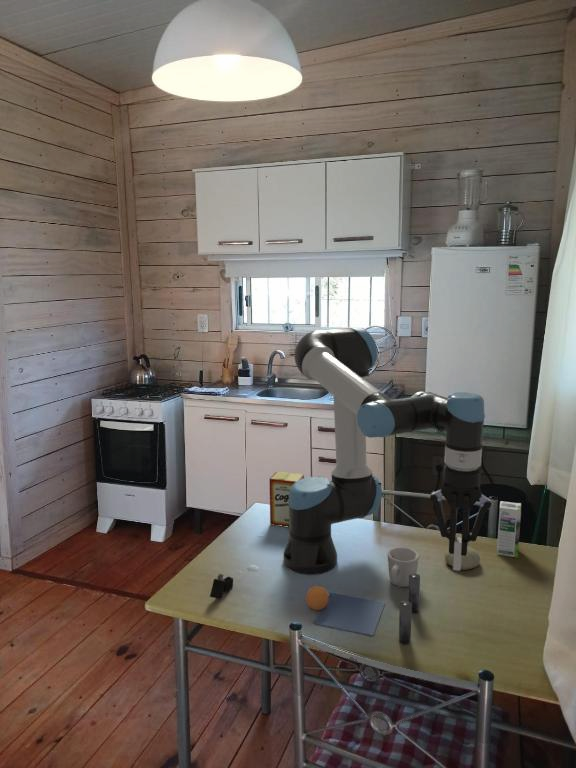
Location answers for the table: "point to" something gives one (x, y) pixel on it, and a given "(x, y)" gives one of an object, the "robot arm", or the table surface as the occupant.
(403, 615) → the post
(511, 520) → the syrup box
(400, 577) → the cup
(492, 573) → the table surface
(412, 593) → the post
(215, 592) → the black spring clamp
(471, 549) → the sea urchin shell
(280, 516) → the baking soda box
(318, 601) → the ball
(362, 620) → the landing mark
